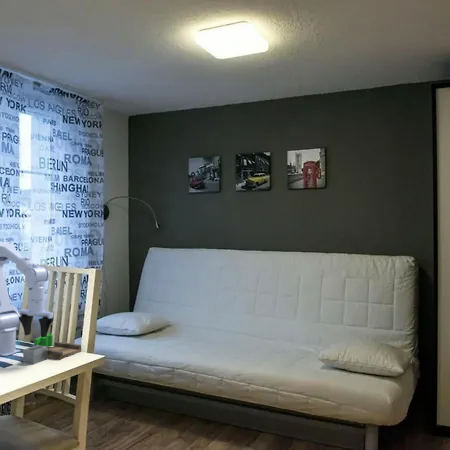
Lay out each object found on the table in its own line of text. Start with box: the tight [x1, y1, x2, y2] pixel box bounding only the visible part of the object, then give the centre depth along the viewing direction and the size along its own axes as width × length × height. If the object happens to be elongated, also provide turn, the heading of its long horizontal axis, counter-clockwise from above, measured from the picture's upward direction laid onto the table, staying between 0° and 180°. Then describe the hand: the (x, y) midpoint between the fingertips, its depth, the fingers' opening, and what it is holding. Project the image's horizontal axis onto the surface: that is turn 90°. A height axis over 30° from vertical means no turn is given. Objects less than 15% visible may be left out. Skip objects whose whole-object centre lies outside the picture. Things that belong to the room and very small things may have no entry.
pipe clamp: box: [33, 332, 54, 347], centre depth 201 cm, size 11×4×5 cm, turn 173°
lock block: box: [22, 345, 49, 365], centre depth 180 cm, size 5×7×5 cm
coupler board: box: [47, 341, 82, 361], centre depth 191 cm, size 12×13×3 cm
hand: (35, 335), depth 180 cm, fingers open, 7 cm apart
